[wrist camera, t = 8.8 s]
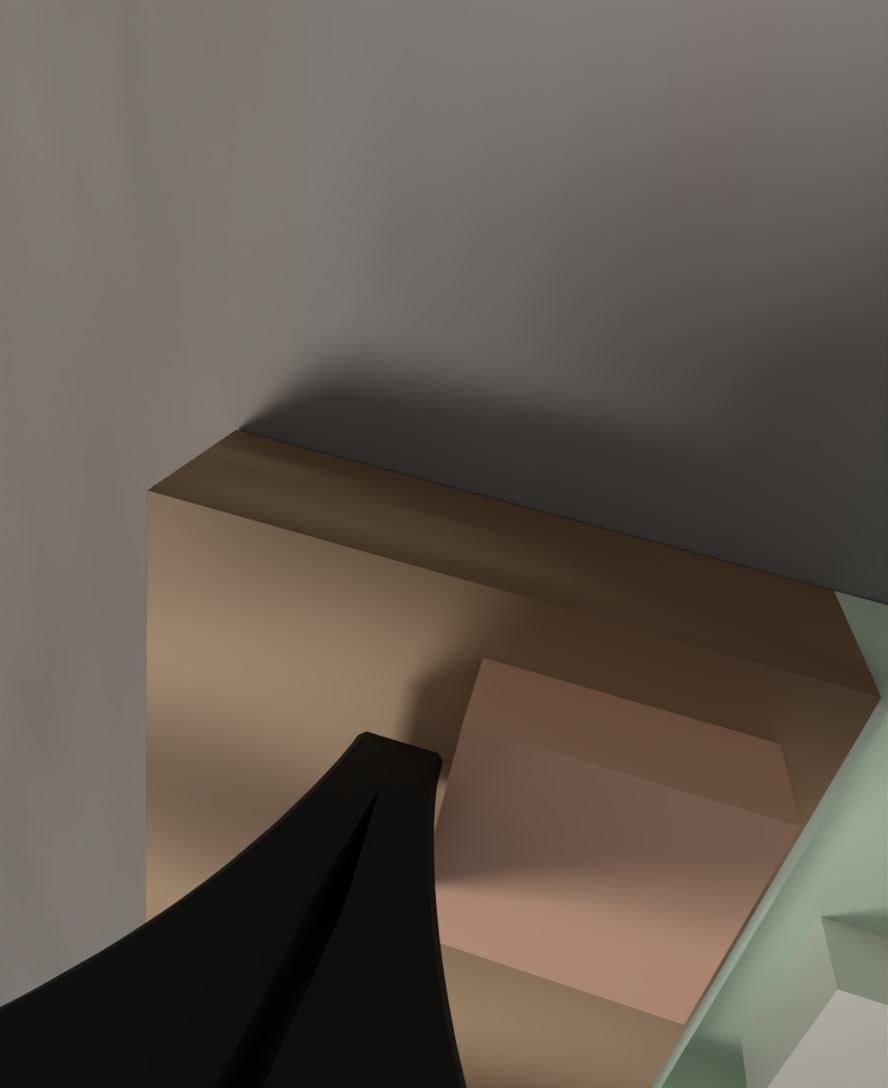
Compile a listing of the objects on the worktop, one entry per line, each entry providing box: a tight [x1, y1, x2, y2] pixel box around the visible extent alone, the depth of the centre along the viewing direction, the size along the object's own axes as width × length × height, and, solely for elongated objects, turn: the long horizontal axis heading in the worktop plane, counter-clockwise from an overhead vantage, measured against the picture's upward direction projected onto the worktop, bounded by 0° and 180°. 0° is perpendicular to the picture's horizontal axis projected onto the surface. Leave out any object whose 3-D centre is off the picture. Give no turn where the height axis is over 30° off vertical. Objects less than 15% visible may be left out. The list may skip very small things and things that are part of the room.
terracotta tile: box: [434, 657, 800, 1025], centre depth 12 cm, size 4×4×2 cm
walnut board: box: [146, 430, 882, 1088], centre depth 16 cm, size 13×11×3 cm
